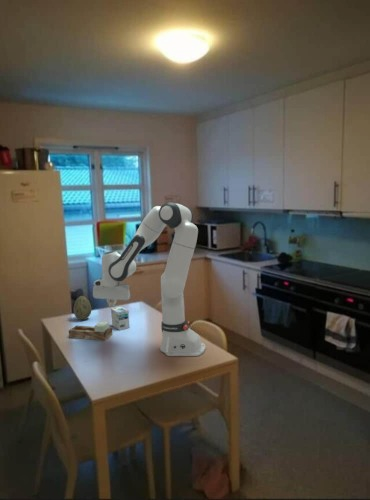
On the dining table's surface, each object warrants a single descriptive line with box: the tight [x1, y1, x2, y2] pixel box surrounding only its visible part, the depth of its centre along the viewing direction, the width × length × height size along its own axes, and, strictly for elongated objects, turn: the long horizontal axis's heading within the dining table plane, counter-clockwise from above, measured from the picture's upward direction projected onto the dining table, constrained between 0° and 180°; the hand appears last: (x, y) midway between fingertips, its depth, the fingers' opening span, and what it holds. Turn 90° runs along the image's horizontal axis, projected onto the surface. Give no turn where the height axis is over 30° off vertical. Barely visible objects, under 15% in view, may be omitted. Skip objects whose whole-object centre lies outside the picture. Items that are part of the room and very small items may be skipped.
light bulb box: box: [110, 305, 130, 331], centre depth 224 cm, size 11×7×11 cm, turn 34°
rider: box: [93, 321, 110, 332], centre depth 208 cm, size 5×7×5 cm
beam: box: [68, 324, 113, 341], centre depth 210 cm, size 22×8×4 cm, turn 75°
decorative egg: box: [72, 295, 92, 321], centre depth 238 cm, size 11×11×15 cm
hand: (112, 307), depth 205 cm, fingers closed
